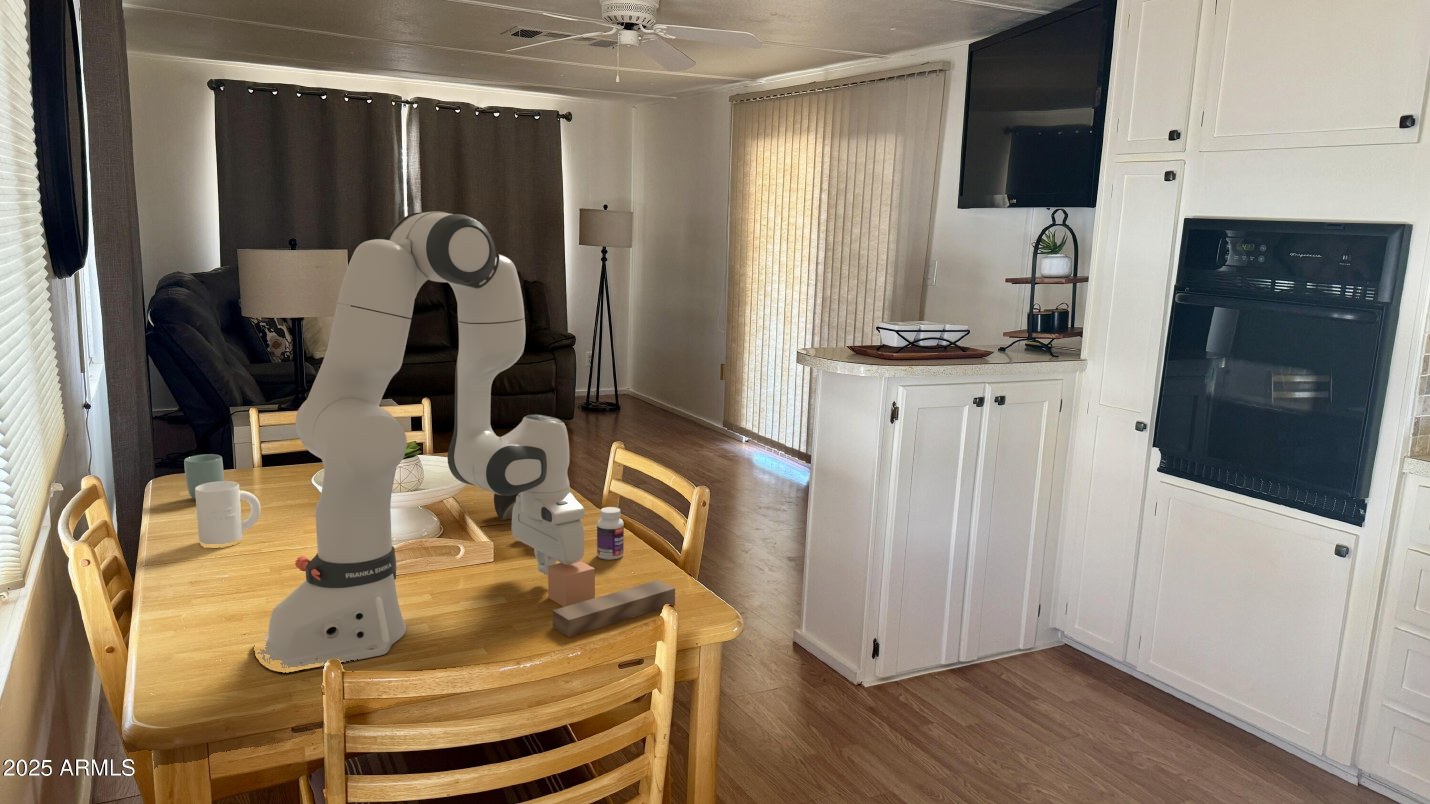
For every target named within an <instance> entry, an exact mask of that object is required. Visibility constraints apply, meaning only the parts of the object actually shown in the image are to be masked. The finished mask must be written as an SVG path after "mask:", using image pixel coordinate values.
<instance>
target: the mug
mask: <svg viewBox="0 0 1430 804" xmlns="http://www.w3.org/2000/svg"><path fill="white" fill-rule="evenodd" d="M195 497H196V500H195V506H196V507H195V508H196V516H197V517H196V518H197V530H198V542H199V541H200V542H202V543H205V544H225V543H230V542H235V541H238V540H239V539H241V538H242V537H243V538H244V535H243V534H244V533H243V531H246V530H249V528H251V527H252V526H254V525H255V524H256V523H257V521H258V520H259V517H260V515H261V503H260V501H259V499H258V497H257V496H255V495H254V493H251V492H249V491H246V490H240V484H239V483H238V482H236V481H229V480H228V481H227V480H224V481H218V482H210V483H205V484H202V485H199V486H197V487H196V488H195ZM241 500H243V501H245V502H247V503H248V505H249V506H250V512H249V514H248V516H247V518H246V519H245V520H243V518H242V517H243V516H242V508H241V507H242V505H241Z"/></svg>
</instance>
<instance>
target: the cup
mask: <svg viewBox="0 0 1430 804" xmlns="http://www.w3.org/2000/svg"><path fill="white" fill-rule="evenodd" d="M183 461H184V462H183V463H184V475H185V482H186V483H185V484H186V488H187V492H188V495H189V496H190V497H191V499H193V500H194V499H196V497H195V488H196V487H197V486H199V485H202V484H205V483H210V482H218V481H225V479H224V477H225V476H224V475H225V474H224V473H225V472H224V463H223V457H222V456H221V455H219V454H215V453H214V454H213V453H210V454H206V453H205V454H197V455H192V456H188V457H186V458H184V460H183Z"/></svg>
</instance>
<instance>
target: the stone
mask: <svg viewBox="0 0 1430 804" xmlns="http://www.w3.org/2000/svg"><path fill="white" fill-rule="evenodd" d="M518 494H519V493H518ZM518 494H515V495H511V496H504V495H498V494H495V493H493V505H494V510H495V513H496V515H497V516H498V518H499V520H501V521H506V520H512V511H513V506H514V504H515V503H516V496H518Z"/></svg>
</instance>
